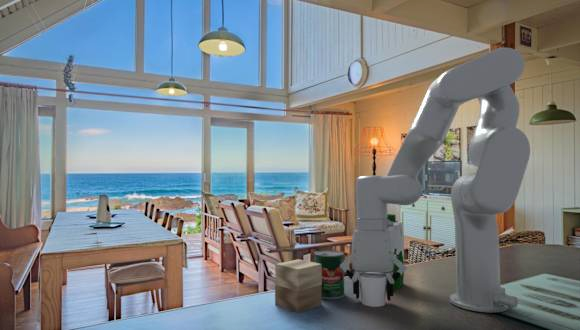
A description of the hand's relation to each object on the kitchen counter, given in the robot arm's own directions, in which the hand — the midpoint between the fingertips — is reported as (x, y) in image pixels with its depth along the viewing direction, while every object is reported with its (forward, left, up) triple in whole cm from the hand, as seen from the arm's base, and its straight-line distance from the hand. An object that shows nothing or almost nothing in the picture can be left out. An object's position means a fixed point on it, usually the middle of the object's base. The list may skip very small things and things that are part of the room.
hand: (373, 297), depth 92 cm
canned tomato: (+11, +5, -2) cm, 12 cm away
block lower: (+9, +16, -2) cm, 18 cm away
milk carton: (+9, -15, -2) cm, 18 cm away
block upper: (+9, +16, +3) cm, 19 cm away
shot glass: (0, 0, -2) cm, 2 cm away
